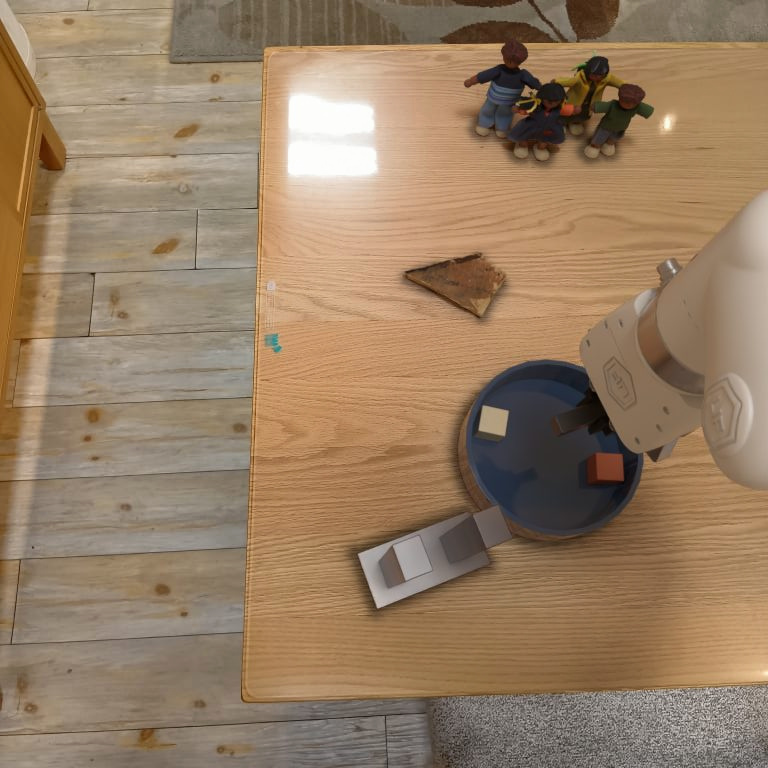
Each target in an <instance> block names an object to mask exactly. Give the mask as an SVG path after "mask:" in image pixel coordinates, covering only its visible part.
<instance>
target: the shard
mask: <svg viewBox="0 0 768 768" xmlns="http://www.w3.org/2000/svg"><path fill="white" fill-rule="evenodd" d="M404 274H406V276H407V279H408V280H411V281H414V282H415V283H417V284H419V285H421V286H424V287H426V288H428V289H430V290H432V291H434V292H436V293H438V294H439V295H442V296H445V297H446V298H448V299H450V300H451V301H453V302H455V303H457V304H458V305H459V306H461V307H462V308H464V309H466V310H468V311H470V312H472V313H473V314H475V315H477V316H478V317H480V318H483V316H484V313H485V312H486V310H487V308H488V307H489V305H490V304H491V302H492V300H493V298H494V297H495V295H496V293H498V291H499V290H500V288H502V285H503V283H504V282H505V280H506V279H507V275H508V273H507V272H506V271H504V270H503V269H501V268H500V267H497V266H496V265H494V264H493V263H491V262H490V261H489V260H488V259H486V257H484V255H483V253H482V252H478V253H474V254H468V255H464V256H463V257H455V258H452V259H447V260H443V261H439V262H435V263H432V264H429V265H426V266H423V267H419V268H411V269H409V270H405V271H404Z"/></svg>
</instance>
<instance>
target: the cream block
mask: <svg viewBox="0 0 768 768" xmlns="http://www.w3.org/2000/svg"><path fill="white" fill-rule="evenodd" d="M508 413H509V411H507V410H502V409H498V408H493V407H489V406H484V405H483V406H482V407H481V409H480V410H479V411H478V413H477V418H476V424H475V430H474V437H476V438H481V439H485V440H490V441H494V442H500V441H501V440H502V439H503V438H504V437H505V433H506V426H507V420H508Z"/></svg>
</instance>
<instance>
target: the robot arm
mask: <svg viewBox="0 0 768 768" xmlns="http://www.w3.org/2000/svg"><path fill="white" fill-rule="evenodd" d="M655 270H656V271H657V273H658V274H659V276H660V277H659V281H660V282H659V286H657V287H651V288H649V289H646V290H644V291H641V292H639V293H637V294H636V295H634V296H632V297H631V298H630V299H628V300H626V301H624V302H623V303H622V304H620V305H619V306H618V307H616V308H615V309H613V310H612V311H611V312H609V313H608V314H607V315H606V316H605V317H603V318H602V319H601V320H599V321H598V322H596V324H595V325H593V326H592V327H591V328H589V329H588V330H587V332H586V333H585V335H584V336H583V337H582V338H581V340H580V342H579V347H578V352H579V357H580V360H581V362H582V365H583V367H584V368H585V370H586V372H587V374H588V376H589V378H590V380H589V385H590V387H589V388H588V389H587V390H586V391H585V392H584V394H585V396H586V397H585V398H584V399H583V400H581V401H580V402H579V403H578V404H577V405H576V408H577V407H580V406H583V405H586V404H588V403H593V402H595V401H598V400H601V402H602V404H603V406H604V408H605V410H606V412H607V415H604V416H602V417H601V418H599V420H598V421H596V422H595V423H594V424H592V425H590V426H589V427H588V432H589V434H590V435H593V434H595V433H598V432H601V431H603V433H604V435H605V437H607V436H610V435H612V434H615V433H617V434H618V436H619V437H620V439H621V441H622V442H623V443H624V445H625V446H626V447H627V448H628V449H629V450H630V451H632V452H634V453H637V454H639V453H643V454H644V453H645V454H646V455H647V456H648V458H649V459H650V460H651V462H653V463H658V462H661V461H664V460H665V459H668V458H670V457H671V455H672V454H673V453H672V452H673V451H674V448H675V447H676V445H677V443H678V440H679V438H685V437H686V436H689V435H690V434H692V433H693V432H695V431H697V430H698V429H700V428H701V429H702V434H703V437H704V440H705V443H706V445H707V446H708V449H709V452H710V455H711V457H712V459H713V461H714V463H715V466H717V468H718V469H719V470H720V472H721V473H722V474H723V475H724V476H725V477H726V478H727V479H729V480H730V481H732V482H733V483H735V484H736V485H738V486H741V487H743V488H746V489H750V490H756V491H764V492H765V491H766V492H767V491H768V188H766V189H764V190H762V191H761V192H759V193H757V194H756V195H755V196H754V197H752V198H751V199H750V200H749V201H748V202H747V203H746V204H745V205H743V206H742V207H741V208H740V209H739V210H738V211H737V212H736V213H735V214H734V215H733V216H732V218H730V219H729V220H728V222H726V223H725V225H723V227H722V228H720V230H719V231H718V232H717V233H715V234H714V235H713V237H712V238H711V239H709V241H707V243H706V244H704V246H702V248H701V249H700V250H699V251H698V252H697V253H696V254H695V255H694V256H693V257H692V258H691V259H690V260H689V261H688V262H687V263H686V264H685V265H684V266H683V265H680V263H679V262H678V260H677V258H676V257H671V258H668V259H666V260H664V261H662V262H661V263H659V264H658V265H657V266H656V268H655Z"/></svg>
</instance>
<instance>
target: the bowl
mask: <svg viewBox="0 0 768 768" xmlns="http://www.w3.org/2000/svg"><path fill="white" fill-rule="evenodd" d="M589 380H590V378H589V376H588V374H587V372H586V370H585V367H584V366H581V365H579V364H575V363H572V362H569V361H564V360H559V359H558V360H557V359H548V358H547V359H546V358H545V359H537V360H527V361H524V362H522V363H521V362H520V363H519V364H515V365H512V366H510V367H508V368H506V369H505V370H503V371H502V372H500V373H499V374H497V375H496V376H494V377H493V378H492V379H491V380H490V381H489V382H488V383H487V384H486V385H485V386H484V387H483V388H482V389H481V391H480V393H478V396H477V397H476V398H475V400H474V401H473V403H472V405H470V408H469V409H468V411H467V413H466V415H465V416H464V418H463V422H462V424H461V426H460V430H459V434H458V440H457V462H458V467H459V471H460V475H461V478H462V481H463V484H464V486H465V488H466V490H467V492H468V495H469V496H470V498H471V499H472V501H473V502H474V504H475V505H476V506H477V508H479V510H480V511H481V510H484V509H487V508H489V507H492V506H494V505H497V504H499V506H500V509H501V511H502V513H503V516H504V518H505V520H506V523H507V525H508V527H509V530H510V532H511V534H514V535H517V536H518V537H522V538H526V539H529V540H535V541H544V542H547V541H548V542H549V541H551V542H552V541H560V540H566V539H571V538H575V537H578V536H581V535H585V534H587V533H591V532H593V531H596V530H597V529H599V528H602V527H605V526H606V525H607V524H609V523H611V521H613V520H614V519H615V518H617V517H618V516H619V515H620V514H621V513H622V512H623V510H625V508H626V507H627V506H628V505H629V504H630V502H631V501H632V499H633V498H634V495H635V494H636V491H637V489H638V487H639V485H640V482H641V480H642V479H641V478H642V473H643V469H644V463H645V462H644V461H645V460H644V452H643V453H639V454H637V453H634V452H632V451H630V450H629V449H628V448H627V447H626V446H625V445H624V443H623V442H622V441H621V439H620V437H619V436H618V434H617V433H615V434H612V435H610V436H607V437H605V435H604V433H603V431H601V432H598V433H595V434H593V435H590V434H589V432H588V427H589V426H590V425H589V426H587V427H584V428H581V429H579V430H576V431H573V432H571V433H568V434H565V435H563V436H560V437H556V435H555V432H554V430H553V428H552V426H551V424H550V422H549V421H550V420H551V419H552V418H553V417H554V416H556V415H558V414H561V413H564V412H567V411H569V410H572V409H575V408H576V405H577V404H578V403H579V402H580V401H581V400H583V399H584V398H585V397H586V396H585V394H584V392H585V391H586V390H587V389H588V388H589V387H590V385H589ZM483 405H484V406H489V407H493V408H498V409H502V410H507V411H509V413H508V420H507V426H506V433H505V437H504V438H503V439H502V440H501V441H500V442H494V441H490V440H485V439H481V438H476V437H474V430H475V424H476V418H477V413H478V411H479V410H480V409H481V407H482V406H483ZM595 453H612V454H622V457H623V471H624V481H623V482H620V483H618V484H616V485H614V486H612V485H593V484H588V474H587V458H588V457H590V456H591V455H593V454H595Z"/></svg>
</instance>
